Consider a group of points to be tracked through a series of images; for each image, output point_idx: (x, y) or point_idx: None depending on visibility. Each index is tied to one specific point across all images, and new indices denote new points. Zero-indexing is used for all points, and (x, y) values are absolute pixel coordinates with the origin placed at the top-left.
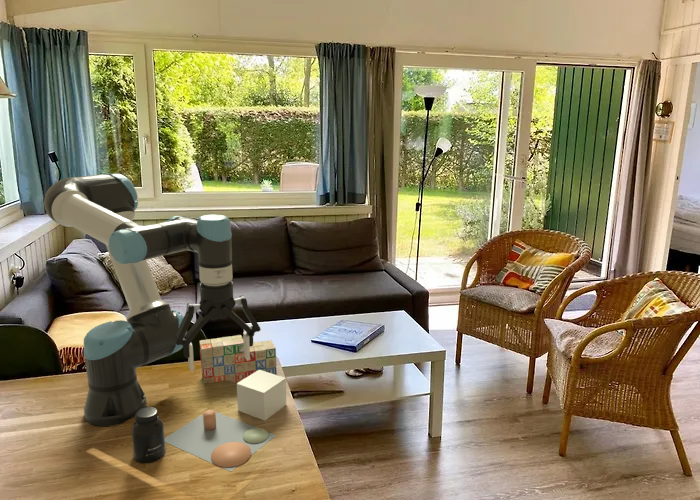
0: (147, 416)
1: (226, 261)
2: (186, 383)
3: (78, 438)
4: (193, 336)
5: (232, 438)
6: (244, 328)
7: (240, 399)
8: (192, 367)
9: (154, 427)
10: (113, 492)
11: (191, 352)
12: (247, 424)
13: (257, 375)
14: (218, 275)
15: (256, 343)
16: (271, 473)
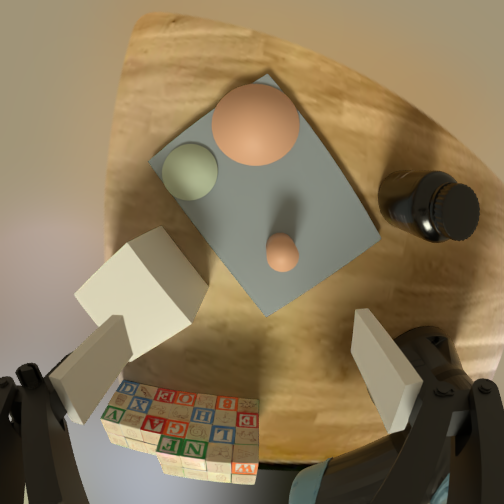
0: (463, 188)
1: None
2: (286, 416)
3: (467, 306)
4: (420, 435)
5: (240, 181)
6: (40, 416)
7: (194, 295)
8: (366, 316)
9: (434, 179)
10: (449, 137)
11: (397, 358)
12: (196, 225)
13: (134, 338)
14: None
15: (138, 447)
16: (192, 63)
